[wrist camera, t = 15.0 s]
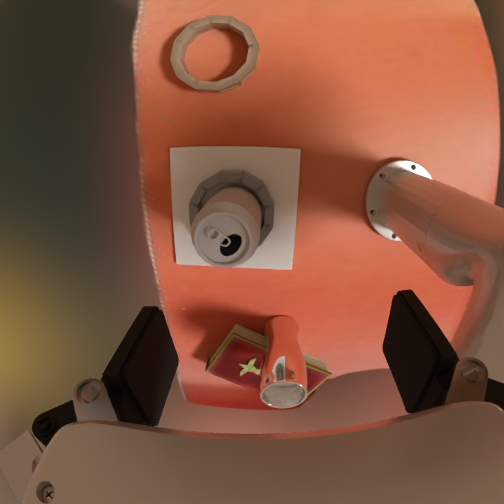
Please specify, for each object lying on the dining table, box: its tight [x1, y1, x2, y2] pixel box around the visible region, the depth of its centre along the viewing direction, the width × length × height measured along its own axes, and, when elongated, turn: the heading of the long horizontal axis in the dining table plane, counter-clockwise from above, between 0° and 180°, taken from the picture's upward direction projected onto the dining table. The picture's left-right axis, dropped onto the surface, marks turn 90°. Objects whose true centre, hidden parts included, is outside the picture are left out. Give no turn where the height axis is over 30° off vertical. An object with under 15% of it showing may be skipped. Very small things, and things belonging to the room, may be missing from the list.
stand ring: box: [170, 16, 259, 93], centre depth 30 cm, size 11×11×2 cm
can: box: [191, 185, 262, 268], centre depth 34 cm, size 8×8×12 cm
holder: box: [170, 146, 301, 270], centre depth 38 cm, size 18×18×3 cm
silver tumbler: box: [260, 316, 308, 408], centre depth 41 cm, size 7×7×15 cm
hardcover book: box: [205, 323, 332, 395], centre depth 50 cm, size 12×21×4 cm, turn 60°
